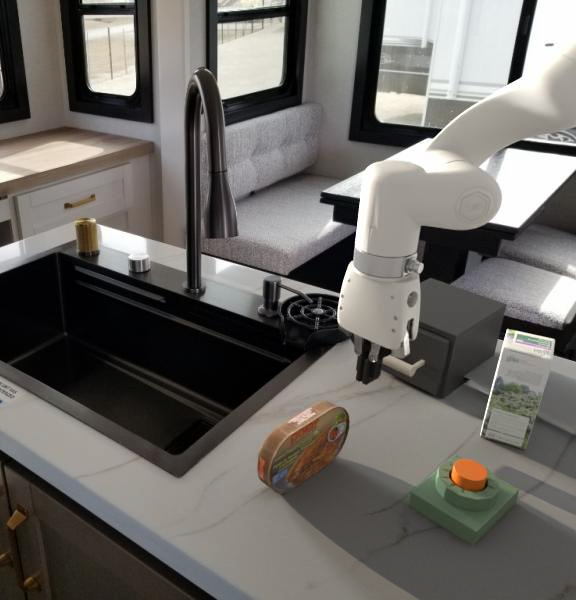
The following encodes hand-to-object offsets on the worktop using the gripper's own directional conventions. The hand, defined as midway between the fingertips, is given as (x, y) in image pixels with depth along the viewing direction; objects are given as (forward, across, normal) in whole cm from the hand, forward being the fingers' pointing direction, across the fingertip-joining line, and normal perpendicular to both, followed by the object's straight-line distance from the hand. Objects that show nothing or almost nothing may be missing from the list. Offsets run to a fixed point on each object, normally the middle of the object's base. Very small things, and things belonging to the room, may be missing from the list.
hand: (367, 378), depth 90 cm
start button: (+1, -19, +7) cm, 20 cm away
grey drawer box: (+5, 0, -18) cm, 19 cm away
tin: (+5, -3, +17) cm, 18 cm away
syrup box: (+5, -16, -10) cm, 19 cm away
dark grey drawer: (+4, 0, -14) cm, 15 cm away
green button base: (+5, -19, +7) cm, 21 cm away
